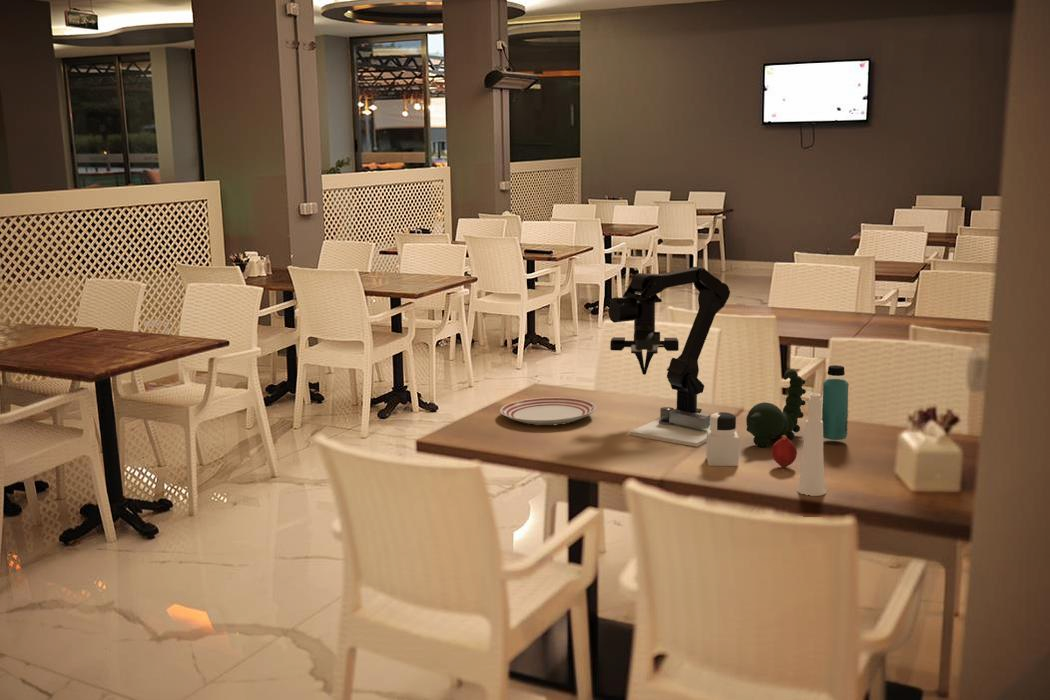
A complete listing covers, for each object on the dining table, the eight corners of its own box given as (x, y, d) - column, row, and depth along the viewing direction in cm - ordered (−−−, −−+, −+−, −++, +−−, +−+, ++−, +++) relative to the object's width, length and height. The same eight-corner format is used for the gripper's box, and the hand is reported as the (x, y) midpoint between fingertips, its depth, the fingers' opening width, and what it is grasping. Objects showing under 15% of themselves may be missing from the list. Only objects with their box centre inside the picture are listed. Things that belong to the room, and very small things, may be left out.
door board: (663, 420, 284) (663, 406, 283) (728, 431, 272) (728, 416, 271) (629, 435, 270) (629, 420, 269) (696, 446, 258) (697, 431, 257)
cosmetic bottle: (813, 498, 219) (817, 399, 214) (791, 491, 223) (794, 394, 219) (831, 492, 222) (835, 394, 218) (809, 485, 227) (812, 389, 223)
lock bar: (657, 420, 277) (657, 408, 277) (666, 417, 280) (666, 406, 279) (701, 430, 267) (701, 418, 266) (709, 427, 269) (709, 415, 269)
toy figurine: (779, 434, 274) (731, 447, 255) (784, 365, 272) (736, 372, 253) (811, 440, 268) (765, 453, 249) (817, 369, 265) (770, 377, 247)
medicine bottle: (735, 457, 248) (736, 410, 246) (738, 466, 241) (739, 417, 239) (706, 457, 249) (706, 410, 247) (708, 466, 242) (709, 417, 240)
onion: (777, 462, 244) (778, 430, 242) (800, 466, 240) (801, 434, 239) (766, 468, 240) (767, 435, 238) (789, 472, 236) (790, 439, 234)
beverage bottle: (848, 446, 256) (851, 369, 252) (821, 445, 257) (824, 368, 254) (845, 439, 262) (849, 363, 259) (819, 438, 264) (822, 363, 260)
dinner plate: (487, 427, 281) (486, 415, 280) (516, 404, 306) (516, 393, 306) (583, 433, 273) (583, 421, 272) (605, 409, 298) (605, 398, 298)
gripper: (609, 323, 273) (609, 380, 276) (679, 324, 271) (678, 381, 274) (611, 317, 284) (611, 371, 287) (678, 317, 282) (677, 372, 285)
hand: (644, 374), depth 283 cm, fingers closed
